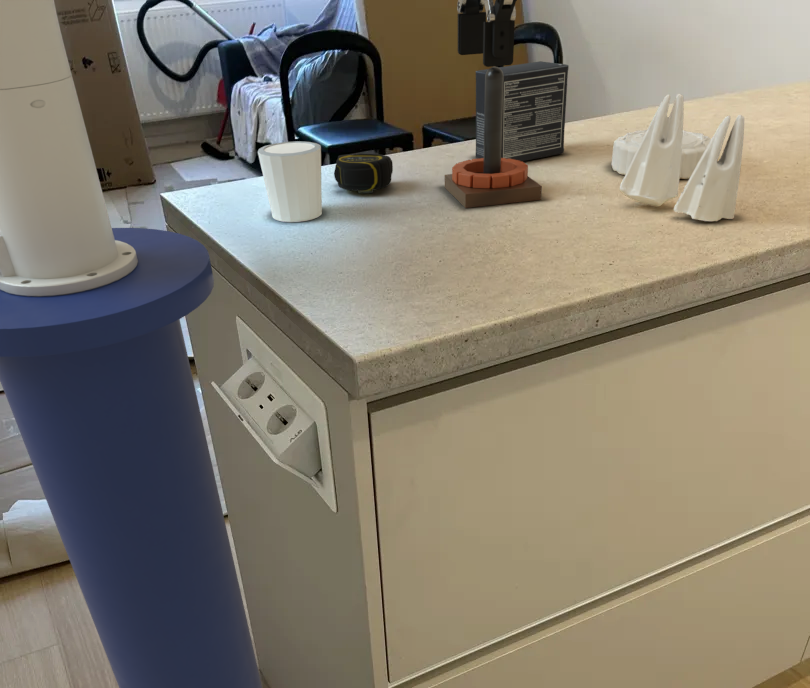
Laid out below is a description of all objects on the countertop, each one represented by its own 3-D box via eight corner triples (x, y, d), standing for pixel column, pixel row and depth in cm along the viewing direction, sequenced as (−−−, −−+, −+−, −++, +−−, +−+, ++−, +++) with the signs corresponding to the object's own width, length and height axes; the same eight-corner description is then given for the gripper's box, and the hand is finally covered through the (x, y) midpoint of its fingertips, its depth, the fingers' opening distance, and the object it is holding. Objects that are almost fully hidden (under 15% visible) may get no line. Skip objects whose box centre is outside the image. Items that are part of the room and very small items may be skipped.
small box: (536, 145, 112) (541, 59, 106) (565, 154, 108) (572, 64, 101) (472, 157, 108) (473, 68, 102) (499, 166, 104) (502, 74, 97)
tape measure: (394, 181, 100) (392, 149, 98) (389, 197, 95) (387, 163, 92) (340, 183, 101) (337, 150, 98) (332, 198, 95) (329, 164, 93)
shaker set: (614, 207, 88) (627, 94, 81) (634, 198, 90) (648, 87, 84) (718, 227, 81) (741, 105, 75) (736, 217, 84) (761, 97, 77)
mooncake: (632, 152, 107) (636, 123, 104) (723, 162, 101) (729, 130, 99) (595, 174, 99) (598, 142, 97) (691, 185, 93) (697, 152, 91)
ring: (464, 191, 90) (464, 179, 89) (444, 173, 97) (444, 161, 96) (537, 184, 91) (537, 172, 90) (513, 166, 98) (513, 154, 97)
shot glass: (307, 202, 95) (300, 137, 90) (339, 214, 90) (333, 146, 86) (256, 214, 91) (246, 147, 87) (285, 227, 87) (276, 158, 83)
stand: (465, 208, 90) (466, 76, 82) (444, 187, 97) (443, 64, 89) (541, 199, 91) (549, 69, 83) (515, 180, 98) (520, 58, 90)
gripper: (428, -136, 84) (432, 52, 95) (476, -147, 71) (474, 73, 82) (496, -139, 86) (492, 47, 96) (556, -151, 72) (544, 67, 83)
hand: (484, 59), depth 89 cm, fingers open, 9 cm apart
